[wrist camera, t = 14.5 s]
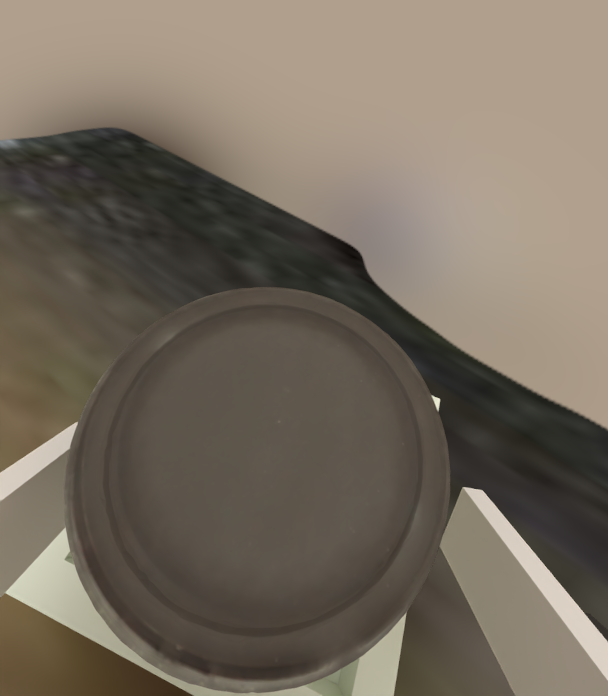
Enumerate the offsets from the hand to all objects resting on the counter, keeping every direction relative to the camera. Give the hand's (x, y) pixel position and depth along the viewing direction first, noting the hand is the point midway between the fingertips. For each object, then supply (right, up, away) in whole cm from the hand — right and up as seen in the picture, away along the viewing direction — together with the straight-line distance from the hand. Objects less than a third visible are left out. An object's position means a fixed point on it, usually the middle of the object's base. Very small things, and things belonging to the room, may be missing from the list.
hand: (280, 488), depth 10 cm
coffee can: (-2, -4, +10) cm, 11 cm away
